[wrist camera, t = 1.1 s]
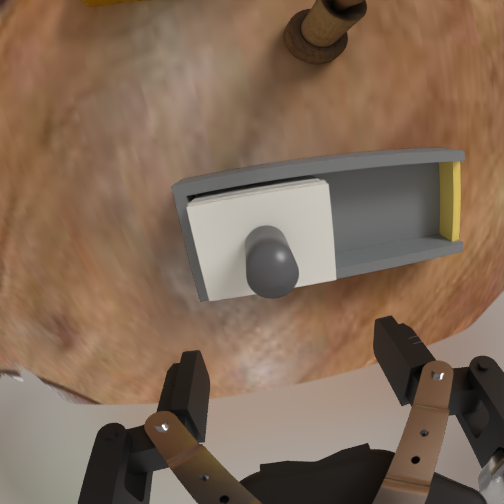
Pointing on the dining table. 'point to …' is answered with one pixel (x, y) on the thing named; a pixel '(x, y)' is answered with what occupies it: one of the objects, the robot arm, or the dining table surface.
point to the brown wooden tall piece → (323, 29)
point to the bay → (361, 205)
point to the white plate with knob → (264, 237)
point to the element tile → (105, 2)
